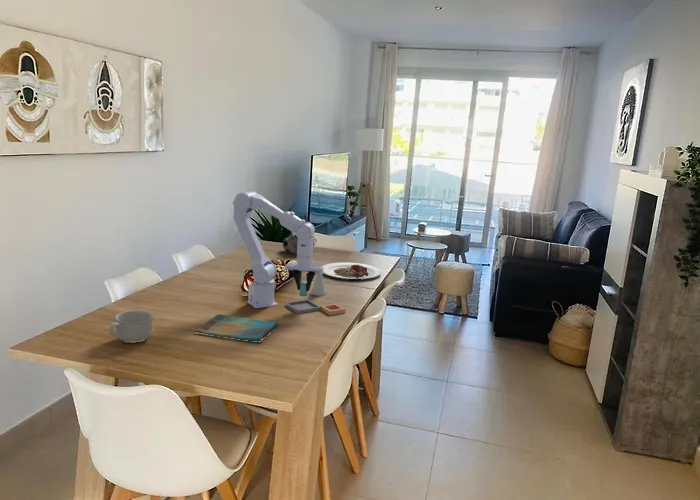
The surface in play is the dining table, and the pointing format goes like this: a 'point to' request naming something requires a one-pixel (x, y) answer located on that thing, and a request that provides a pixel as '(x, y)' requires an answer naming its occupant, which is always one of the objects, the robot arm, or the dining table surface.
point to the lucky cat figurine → (293, 243)
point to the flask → (319, 286)
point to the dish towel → (237, 328)
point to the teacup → (132, 325)
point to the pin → (303, 288)
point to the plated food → (350, 270)
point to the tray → (302, 306)
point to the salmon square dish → (332, 309)
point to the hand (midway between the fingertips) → (303, 289)
